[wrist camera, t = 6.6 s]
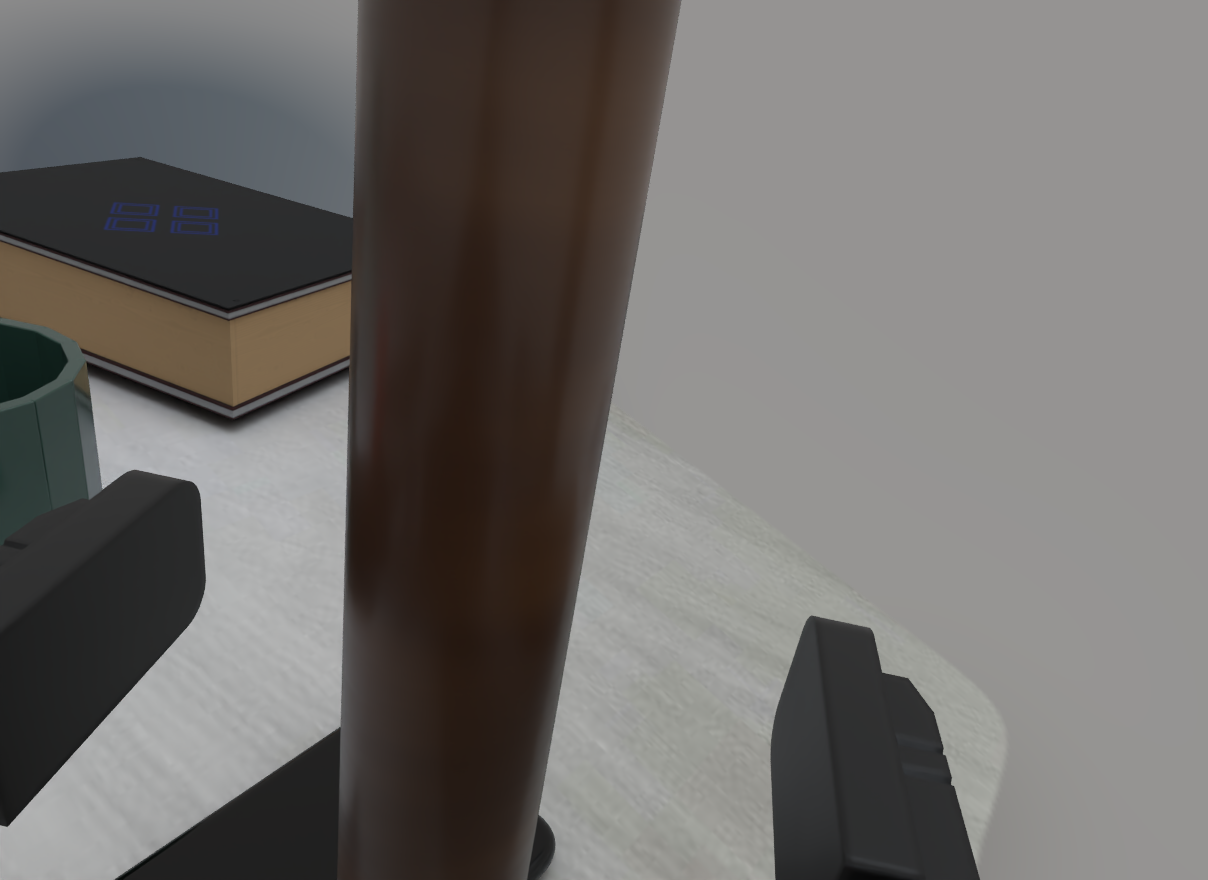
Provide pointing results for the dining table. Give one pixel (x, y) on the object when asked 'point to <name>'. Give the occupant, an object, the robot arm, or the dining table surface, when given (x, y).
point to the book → (179, 279)
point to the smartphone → (280, 830)
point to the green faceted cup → (43, 425)
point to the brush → (479, 401)
